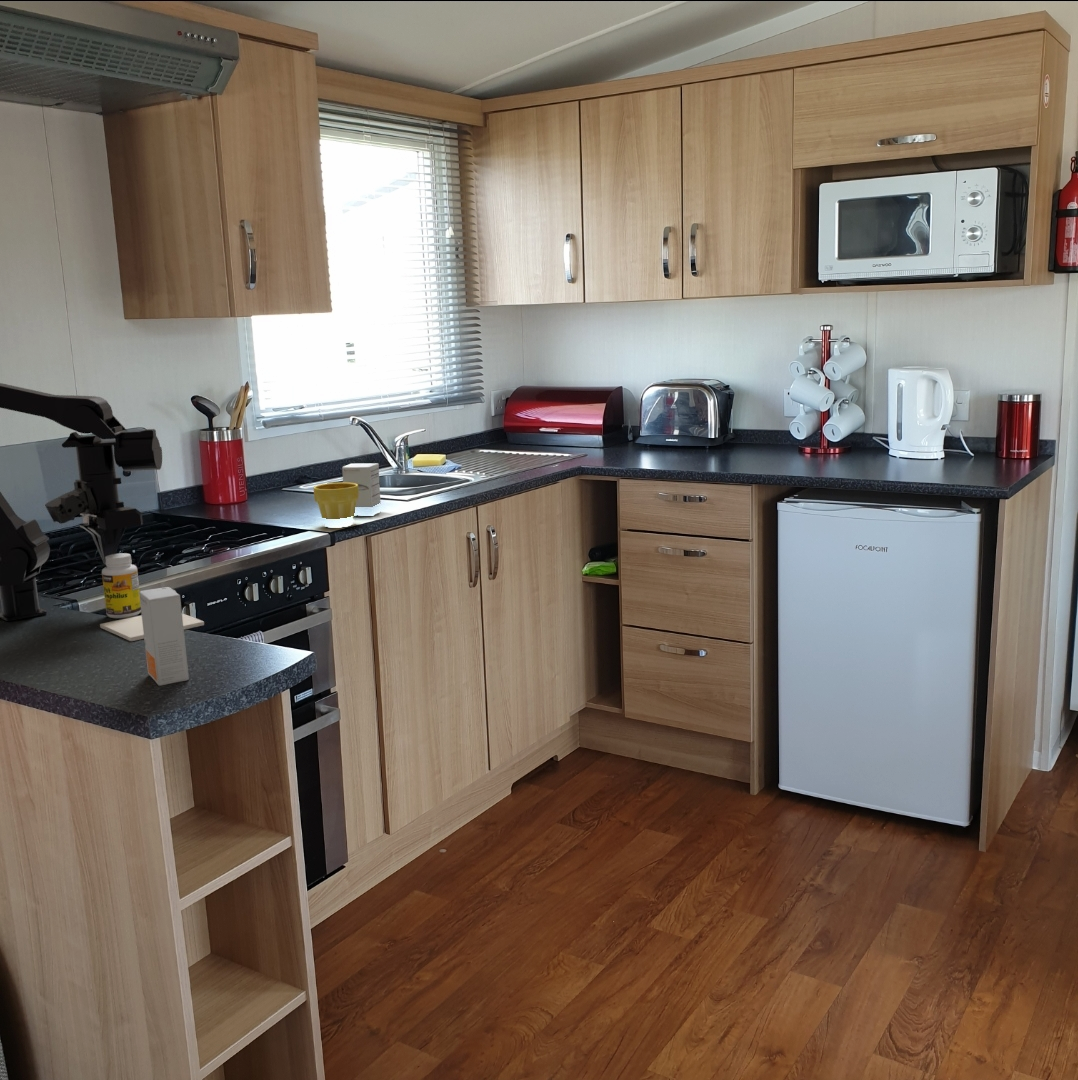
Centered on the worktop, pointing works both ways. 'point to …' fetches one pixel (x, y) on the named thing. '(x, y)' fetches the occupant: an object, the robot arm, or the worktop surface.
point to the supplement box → (364, 482)
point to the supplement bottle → (121, 586)
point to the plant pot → (336, 499)
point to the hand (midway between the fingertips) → (108, 564)
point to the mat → (141, 626)
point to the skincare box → (164, 635)
